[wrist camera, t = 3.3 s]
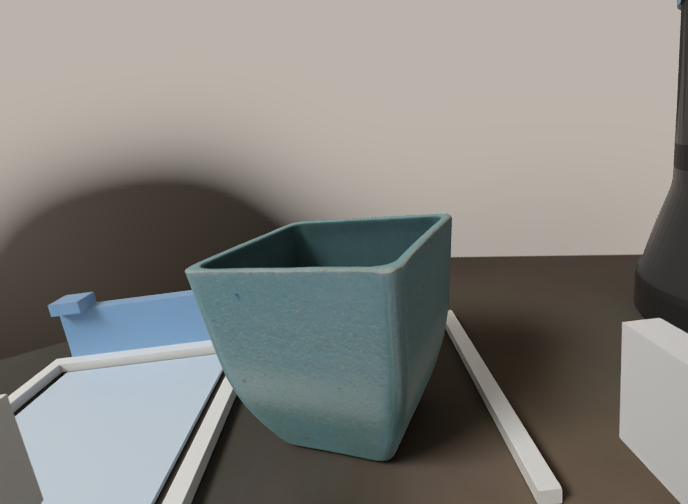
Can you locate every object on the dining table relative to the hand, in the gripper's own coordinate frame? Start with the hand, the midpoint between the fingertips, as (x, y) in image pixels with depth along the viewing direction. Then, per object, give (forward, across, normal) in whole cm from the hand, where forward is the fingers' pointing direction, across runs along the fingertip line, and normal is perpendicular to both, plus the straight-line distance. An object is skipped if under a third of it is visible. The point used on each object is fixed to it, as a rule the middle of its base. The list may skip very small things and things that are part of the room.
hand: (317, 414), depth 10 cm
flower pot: (+10, 0, -8) cm, 13 cm away
